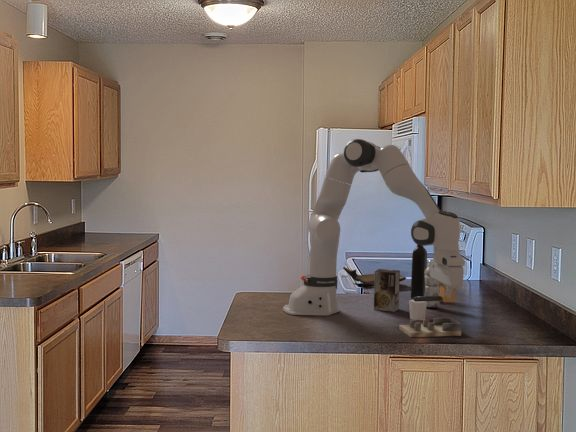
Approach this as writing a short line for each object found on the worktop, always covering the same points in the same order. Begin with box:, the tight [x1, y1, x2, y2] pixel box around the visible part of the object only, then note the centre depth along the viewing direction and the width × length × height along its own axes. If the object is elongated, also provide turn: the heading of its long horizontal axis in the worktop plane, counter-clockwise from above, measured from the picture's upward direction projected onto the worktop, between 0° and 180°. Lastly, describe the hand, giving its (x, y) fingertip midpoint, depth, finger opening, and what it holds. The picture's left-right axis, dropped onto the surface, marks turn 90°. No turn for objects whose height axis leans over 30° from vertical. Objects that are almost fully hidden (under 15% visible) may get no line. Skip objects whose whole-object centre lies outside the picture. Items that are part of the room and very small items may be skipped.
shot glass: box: [408, 298, 427, 321], centre depth 261 cm, size 7×7×7 cm
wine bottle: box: [410, 244, 428, 299], centre depth 299 cm, size 6×6×30 cm
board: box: [398, 317, 462, 338], centre depth 241 cm, size 20×11×4 cm, turn 101°
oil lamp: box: [343, 266, 407, 288], centre depth 327 cm, size 22×30×8 cm
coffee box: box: [373, 268, 401, 313], centre depth 275 cm, size 9×6×16 cm
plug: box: [412, 285, 456, 303], centre depth 241 cm, size 15×4×5 cm, turn 102°
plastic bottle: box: [424, 258, 441, 309], centre depth 280 cm, size 6×7×20 cm
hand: (444, 295), depth 242 cm, fingers closed on plug, 4 cm apart
